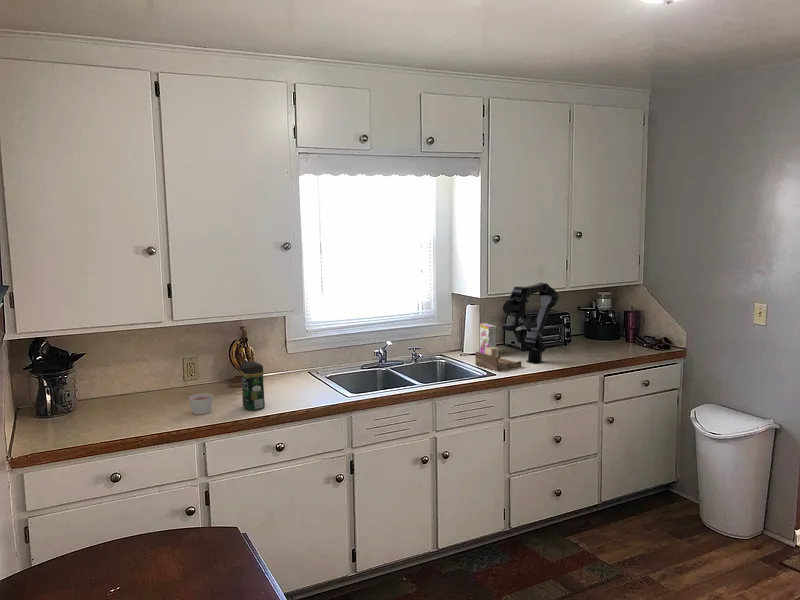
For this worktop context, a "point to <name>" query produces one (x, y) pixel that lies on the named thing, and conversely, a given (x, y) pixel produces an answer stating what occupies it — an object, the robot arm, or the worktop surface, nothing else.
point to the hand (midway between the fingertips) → (519, 342)
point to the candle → (201, 403)
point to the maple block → (491, 351)
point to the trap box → (495, 362)
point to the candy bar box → (487, 336)
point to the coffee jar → (252, 385)
